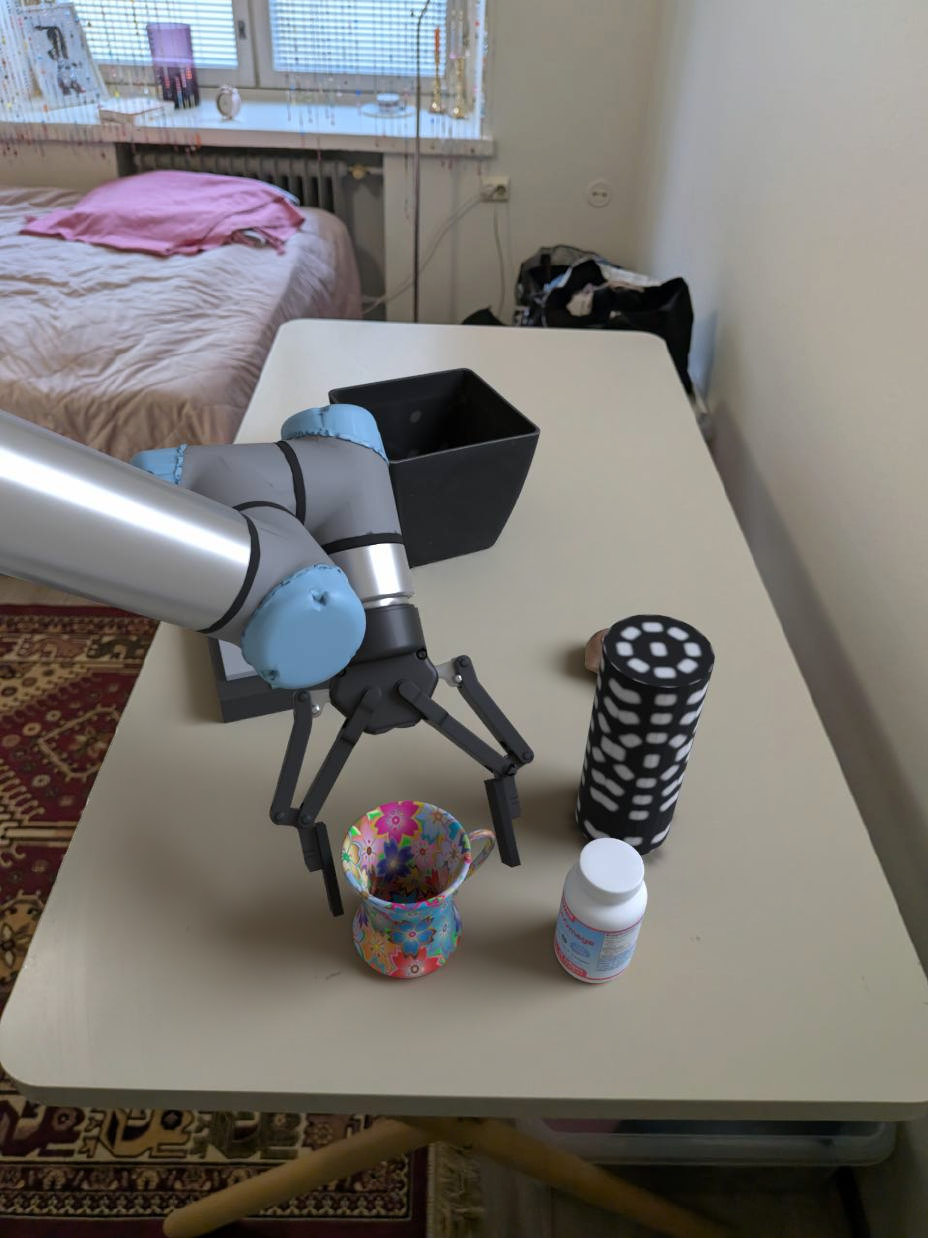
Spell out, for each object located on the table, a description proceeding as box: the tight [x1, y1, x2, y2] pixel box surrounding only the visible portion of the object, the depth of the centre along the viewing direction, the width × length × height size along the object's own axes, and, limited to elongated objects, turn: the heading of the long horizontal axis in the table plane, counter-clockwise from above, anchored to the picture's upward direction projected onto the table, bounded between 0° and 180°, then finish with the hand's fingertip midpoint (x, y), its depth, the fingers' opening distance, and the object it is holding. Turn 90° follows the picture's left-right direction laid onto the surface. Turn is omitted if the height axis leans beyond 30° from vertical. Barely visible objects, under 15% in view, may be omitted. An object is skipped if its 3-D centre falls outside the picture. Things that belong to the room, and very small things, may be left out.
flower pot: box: [327, 367, 541, 568], centre depth 111 cm, size 19×19×17 cm
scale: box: [206, 636, 331, 724], centre depth 96 cm, size 16×16×4 cm
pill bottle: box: [553, 838, 648, 984], centre depth 69 cm, size 6×6×11 cm
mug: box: [340, 800, 496, 979], centre depth 70 cm, size 12×9×11 cm
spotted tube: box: [575, 613, 716, 856], centre depth 76 cm, size 8×8×20 cm
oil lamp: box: [584, 627, 610, 675], centre depth 96 cm, size 9×4×8 cm
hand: (426, 888), depth 69 cm, fingers open, 13 cm apart
